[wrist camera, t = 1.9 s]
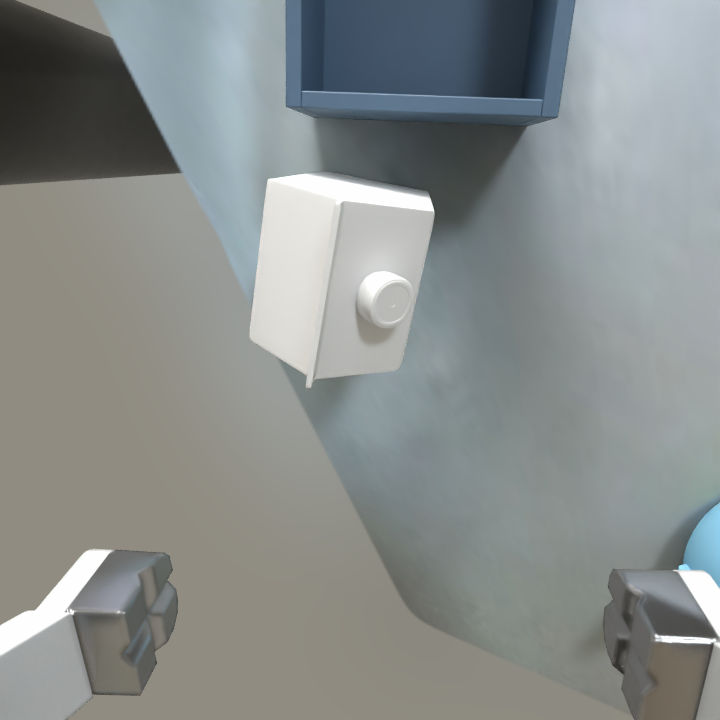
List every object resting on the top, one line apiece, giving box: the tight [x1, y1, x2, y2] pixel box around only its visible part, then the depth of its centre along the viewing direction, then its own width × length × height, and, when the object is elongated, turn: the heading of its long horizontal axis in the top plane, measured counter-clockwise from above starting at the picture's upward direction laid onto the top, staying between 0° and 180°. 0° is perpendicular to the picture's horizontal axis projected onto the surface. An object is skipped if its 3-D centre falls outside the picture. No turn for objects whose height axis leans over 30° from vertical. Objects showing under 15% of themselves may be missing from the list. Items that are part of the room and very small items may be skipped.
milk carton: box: [249, 171, 435, 389], centre depth 29 cm, size 7×7×19 cm
